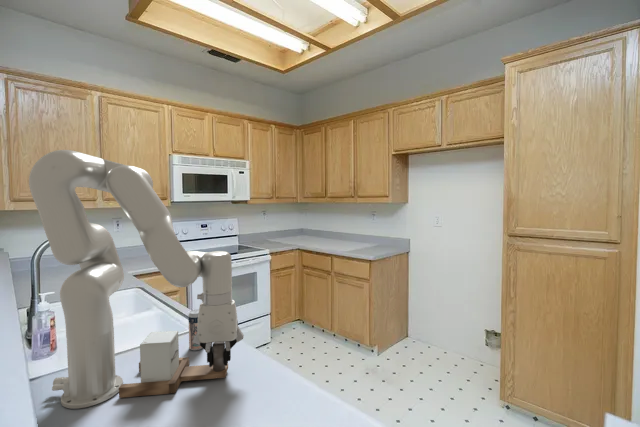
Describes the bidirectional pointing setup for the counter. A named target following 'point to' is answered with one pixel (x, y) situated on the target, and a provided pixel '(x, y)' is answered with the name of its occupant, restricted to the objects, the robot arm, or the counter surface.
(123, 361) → the counter surface
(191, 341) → the beer can
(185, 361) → the wooden cross board
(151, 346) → the supplement box
